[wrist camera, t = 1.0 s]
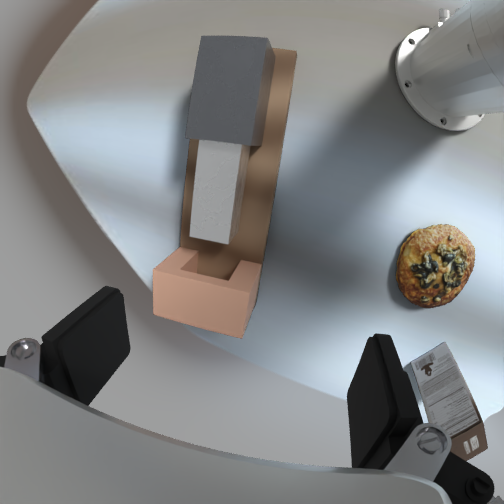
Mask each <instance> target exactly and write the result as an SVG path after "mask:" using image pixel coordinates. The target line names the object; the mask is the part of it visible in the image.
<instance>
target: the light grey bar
mask: <svg viewBox="0 0 504 504" xmlns="http://www.w3.org/2000/svg"><path fill="white" fill-rule="evenodd" d="M249 152H250V146H249V145H242V144H234V143H226V142H218V141H209V140H200V139H199V146H198V154H197V163H196V172H195V181H194V191H193V201H192V212H191V224H190V237H195V238H199V239H204V240H209V241H214V242H219V243H224V244H229V243H230V242H231V241H232V239H233V238H234V237H235V236H236V234H237V233H238V229H239V222H240V214H241V207H242V200H243V193H244V186H245V179H246V172H247V165H248V159H249Z"/></svg>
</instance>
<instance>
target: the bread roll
mask: <svg viewBox="0 0 504 504" xmlns="http://www.w3.org/2000/svg"><path fill="white" fill-rule="evenodd" d="M474 261H475V248H474V246H473V245H472V243H471V242H470V241H469V239H468V237H467V236H466V235H465V234H464V233H463V232H461V231H460V230H459V229H458V228H456V227H455V226H452V225H449V224H446V225H442V224H440V225H432V226H429V227H427V228H426V229H418V230H416V231H414V232H413V233H412V234H411V235H410V236H409V237H408V238H407V240H406V242H404V243H403V245H402V246H401V248H400V254H399V258H398V261H397V271H396V280H397V282H398V286H399V289H400V291H401V292H402V293H403V295H404V296H405V297H406V298H407V299H408V300H409V301H410V302H411V303H413V304H415V305H418V306H420V307H423V308H434V307H438V306H442V305H445V304H447V303H450V302H451V301H452V300H453V299H454V298H455V297H456V296H457V295H458V294H459V293H460V291H461V290H462V289H463V287H464V286H465V284H466V283H467V281H468V279H469V276H470V274H471V273H472V271H473V267H474Z"/></svg>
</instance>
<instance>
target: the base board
mask: <svg viewBox="0 0 504 504" xmlns="http://www.w3.org/2000/svg"><path fill="white" fill-rule="evenodd" d="M272 49H273V51H274V54H275V56H276V59H275V65H274V72H273V78H272V84H271V91H270V97H269V103H268V110H267V116H266V123H265V129H264V135H263V142H262V146H250V152H249V159H248V165H247V172H246V179H245V186H244V193H243V200H242V207H241V214H240V222H239V229H238V233H237V234H236V236H235V237H234V238H233V239H232V241H231V242H230V243H229V244H224V243H219V242H214V241H209V240H204V239H199V238H195V237H190V224H191V212H192V201H193V191H194V181H195V172H196V163H197V154H198V146H199V139H190V142H189V151H188V159H187V169H186V178H185V189H184V200H183V212H182V225H181V240H180V247H183V248H188V249H193V250H197V251H199V252H198V264H197V274H201V275H205V276H210V277H214V278H218V279H223V280H227V281H229V279H230V278H231V276H232V274H233V273H234V271H235V269H236V268H237V266H238V264H239V263H240V261H241V260H244V261H249V262H253V263H258V264H262V265H261V271H260V277H259V282H258V288H257V294H256V300H257V295H258V289H259V283H260V278H261V272H262V266H263V261H264V255H265V249H266V243H267V237H268V232H269V226H270V220H271V214H272V208H273V202H274V196H275V190H276V184H277V178H278V172H279V166H280V160H281V154H282V148H283V141H284V135H285V129H286V123H287V116H288V110H289V104H290V97H291V91H292V84H293V78H294V71H295V65H296V58H297V52H296V51H293V50H285V49H277V48H272ZM256 300H255V304H256ZM254 307H255V305H254Z"/></svg>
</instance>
